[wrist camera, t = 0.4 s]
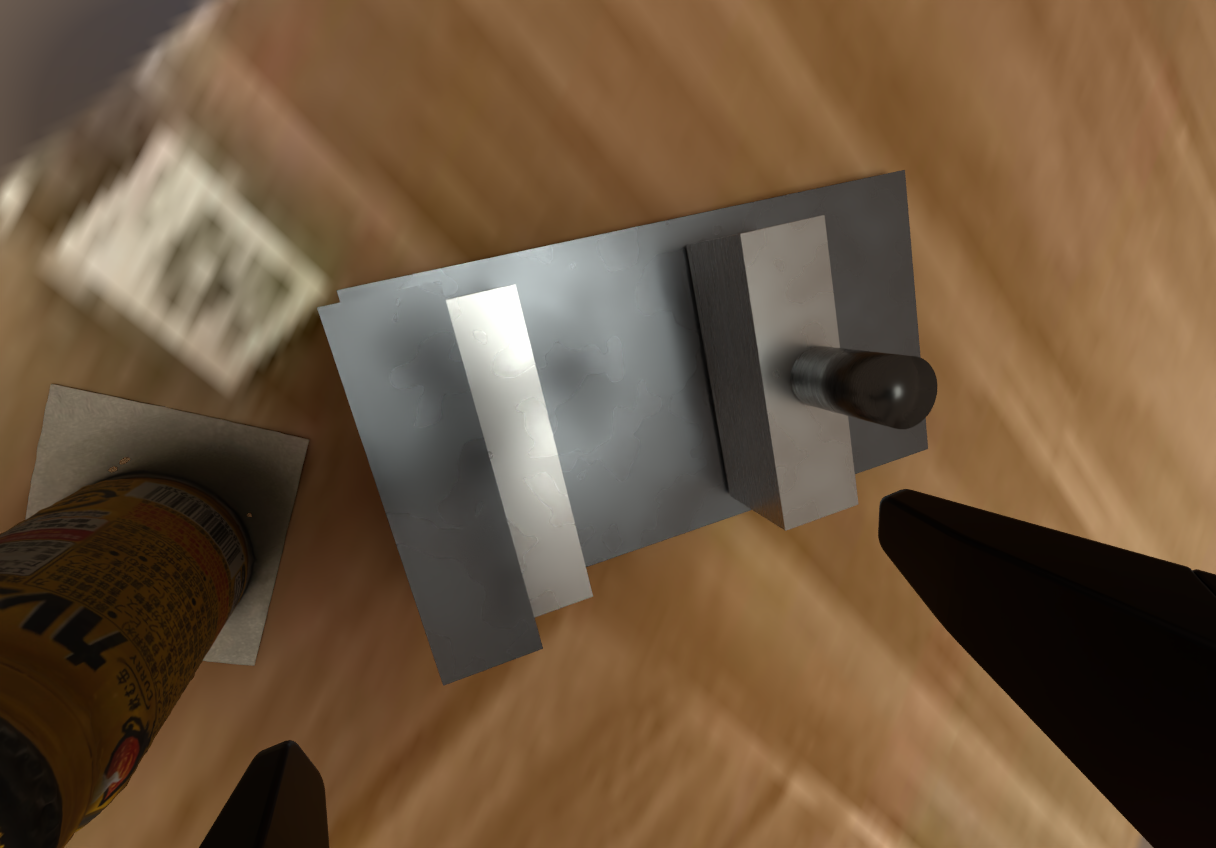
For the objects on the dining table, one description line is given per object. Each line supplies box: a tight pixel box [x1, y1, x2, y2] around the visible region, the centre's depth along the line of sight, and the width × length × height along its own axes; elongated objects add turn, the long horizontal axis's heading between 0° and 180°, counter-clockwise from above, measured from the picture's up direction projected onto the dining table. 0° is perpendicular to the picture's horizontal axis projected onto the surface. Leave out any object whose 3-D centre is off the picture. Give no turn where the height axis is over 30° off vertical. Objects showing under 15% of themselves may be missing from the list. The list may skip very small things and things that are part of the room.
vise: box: [317, 170, 928, 686], centre depth 22 cm, size 22×12×6 cm, turn 103°
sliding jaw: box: [686, 215, 937, 531], centre depth 20 cm, size 3×10×8 cm, turn 13°
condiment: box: [0, 384, 309, 848], centre depth 15 cm, size 7×8×12 cm
